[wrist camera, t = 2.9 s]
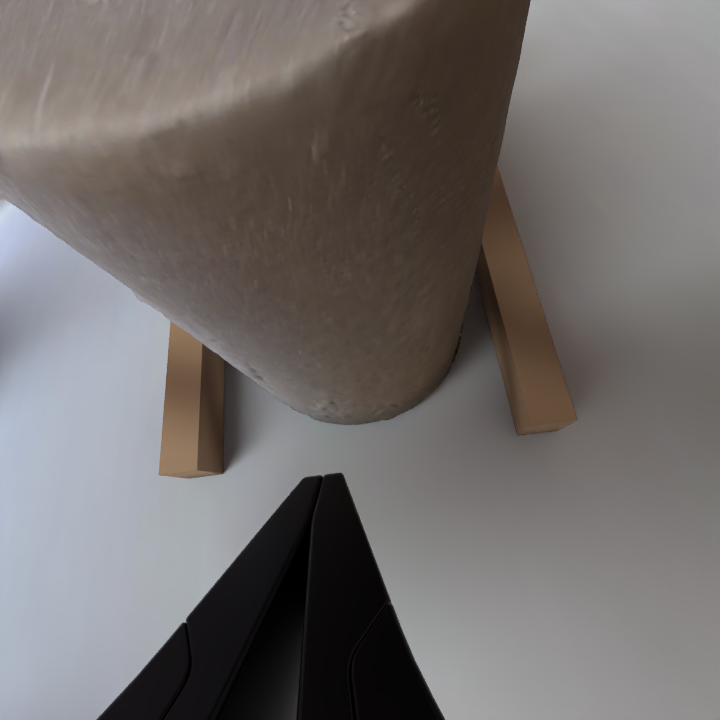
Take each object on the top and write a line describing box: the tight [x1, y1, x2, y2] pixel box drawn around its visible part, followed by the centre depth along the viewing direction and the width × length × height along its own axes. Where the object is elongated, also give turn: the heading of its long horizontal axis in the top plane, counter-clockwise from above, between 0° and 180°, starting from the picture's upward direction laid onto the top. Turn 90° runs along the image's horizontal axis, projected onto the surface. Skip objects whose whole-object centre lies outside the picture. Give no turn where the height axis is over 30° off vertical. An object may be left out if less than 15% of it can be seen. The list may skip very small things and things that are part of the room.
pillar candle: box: [0, 0, 531, 425], centre depth 11 cm, size 10×10×15 cm
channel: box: [159, 167, 577, 478], centre depth 17 cm, size 19×15×4 cm
